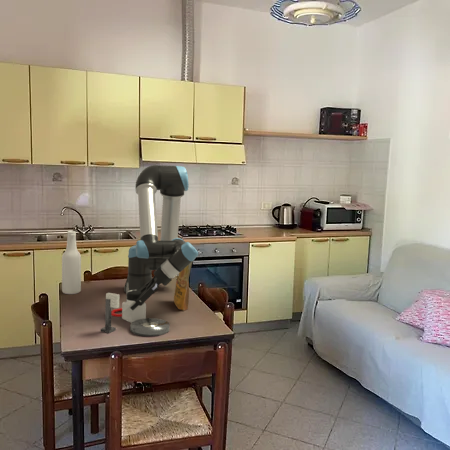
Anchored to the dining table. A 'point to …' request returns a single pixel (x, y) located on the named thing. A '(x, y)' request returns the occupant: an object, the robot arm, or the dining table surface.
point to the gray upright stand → (110, 302)
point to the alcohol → (71, 266)
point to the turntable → (149, 327)
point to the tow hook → (120, 308)
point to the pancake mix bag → (182, 289)
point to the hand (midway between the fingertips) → (126, 309)
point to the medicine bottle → (138, 312)
